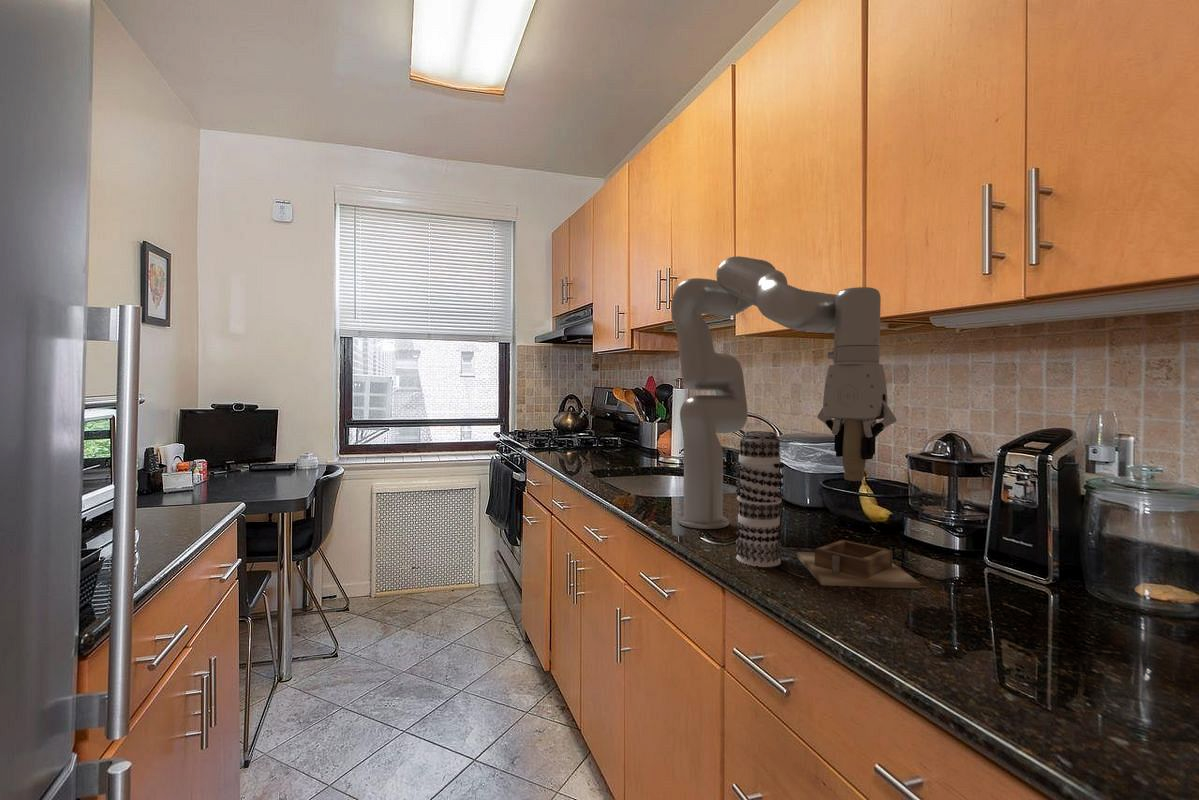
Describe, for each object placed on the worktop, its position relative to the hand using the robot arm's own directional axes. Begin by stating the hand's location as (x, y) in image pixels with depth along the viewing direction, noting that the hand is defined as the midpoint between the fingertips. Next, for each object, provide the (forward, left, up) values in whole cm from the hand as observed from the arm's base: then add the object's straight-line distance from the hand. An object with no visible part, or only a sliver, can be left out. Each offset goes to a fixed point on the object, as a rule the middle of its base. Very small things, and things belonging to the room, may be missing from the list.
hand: (854, 456), depth 103 cm
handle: (0, 0, -4) cm, 4 cm away
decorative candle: (-5, -16, -21) cm, 27 cm away
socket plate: (0, 0, -21) cm, 21 cm away
